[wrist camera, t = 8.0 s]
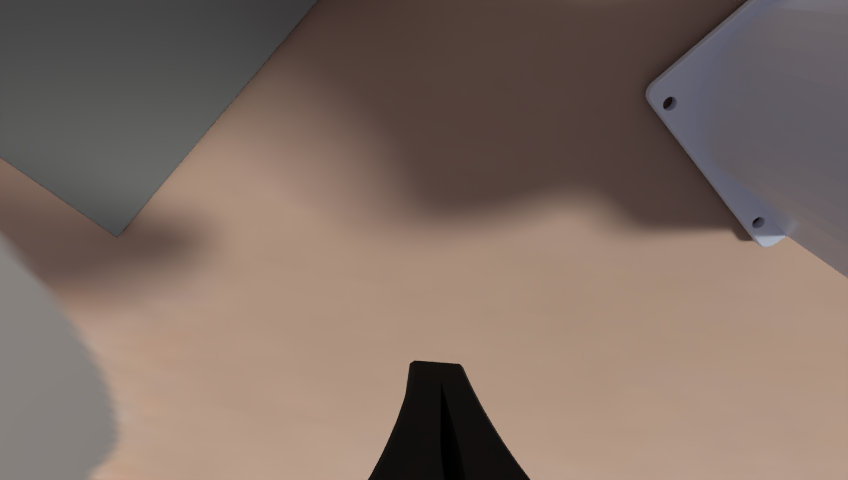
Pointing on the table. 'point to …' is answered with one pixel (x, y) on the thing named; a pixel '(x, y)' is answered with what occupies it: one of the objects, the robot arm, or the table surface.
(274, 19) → the mat
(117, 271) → the table surface
